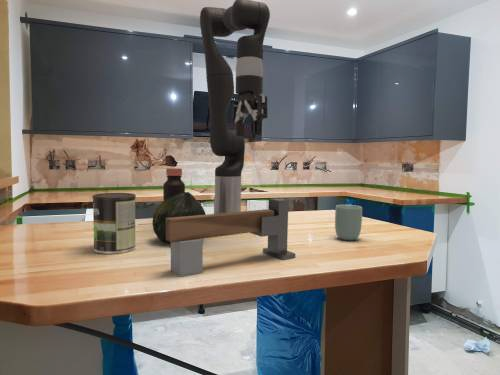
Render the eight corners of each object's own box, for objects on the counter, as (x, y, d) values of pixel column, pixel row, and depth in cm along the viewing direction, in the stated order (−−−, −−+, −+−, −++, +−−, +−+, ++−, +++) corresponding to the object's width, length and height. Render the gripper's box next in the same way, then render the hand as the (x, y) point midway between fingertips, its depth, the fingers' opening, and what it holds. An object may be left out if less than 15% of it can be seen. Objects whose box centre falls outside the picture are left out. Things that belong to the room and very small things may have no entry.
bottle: (183, 227, 122) (183, 168, 121) (186, 232, 116) (186, 169, 114) (162, 228, 120) (162, 168, 118) (164, 233, 114) (164, 168, 112)
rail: (165, 239, 76) (165, 218, 75) (266, 227, 90) (266, 209, 90) (171, 242, 73) (171, 220, 73) (273, 229, 88) (274, 211, 88)
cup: (362, 242, 106) (363, 208, 105) (334, 241, 107) (335, 207, 106) (359, 237, 113) (361, 205, 112) (333, 235, 115) (335, 204, 114)
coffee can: (93, 256, 88) (92, 197, 86) (93, 246, 97) (92, 193, 96) (138, 252, 92) (137, 196, 90) (134, 242, 101) (133, 192, 100)
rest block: (170, 270, 78) (170, 237, 77) (192, 266, 81) (192, 235, 80) (180, 276, 74) (180, 242, 73) (202, 272, 77) (202, 239, 76)
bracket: (244, 255, 91) (245, 199, 89) (275, 250, 96) (276, 197, 95) (264, 263, 84) (265, 203, 83) (295, 257, 89) (297, 200, 88)
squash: (149, 217, 110) (154, 183, 100) (197, 217, 116) (207, 184, 106) (152, 257, 101) (159, 224, 91) (205, 255, 107) (216, 223, 97)
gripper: (276, 74, 97) (274, 135, 99) (246, 82, 109) (245, 137, 110) (252, 70, 93) (251, 134, 95) (224, 79, 105) (223, 136, 106)
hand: (248, 135), depth 103 cm, fingers open, 8 cm apart
